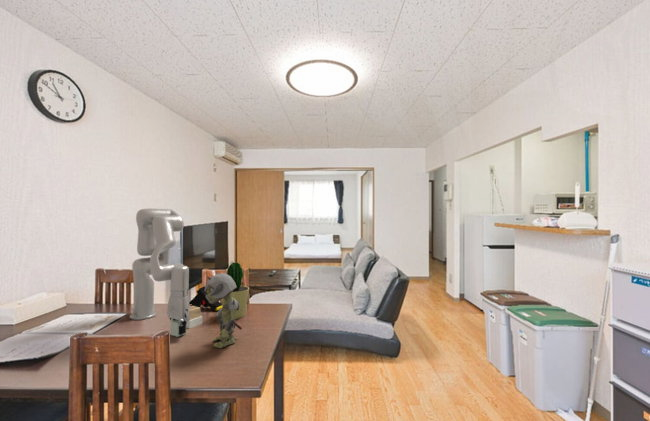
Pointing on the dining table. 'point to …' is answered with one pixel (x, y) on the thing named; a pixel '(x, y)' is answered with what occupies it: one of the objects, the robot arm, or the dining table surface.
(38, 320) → the dining table surface
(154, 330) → the dining table surface
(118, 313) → the dining table surface
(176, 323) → the sage block
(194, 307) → the tower top
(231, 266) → the potted cactus
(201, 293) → the toy gun
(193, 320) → the tower base
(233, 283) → the toy
